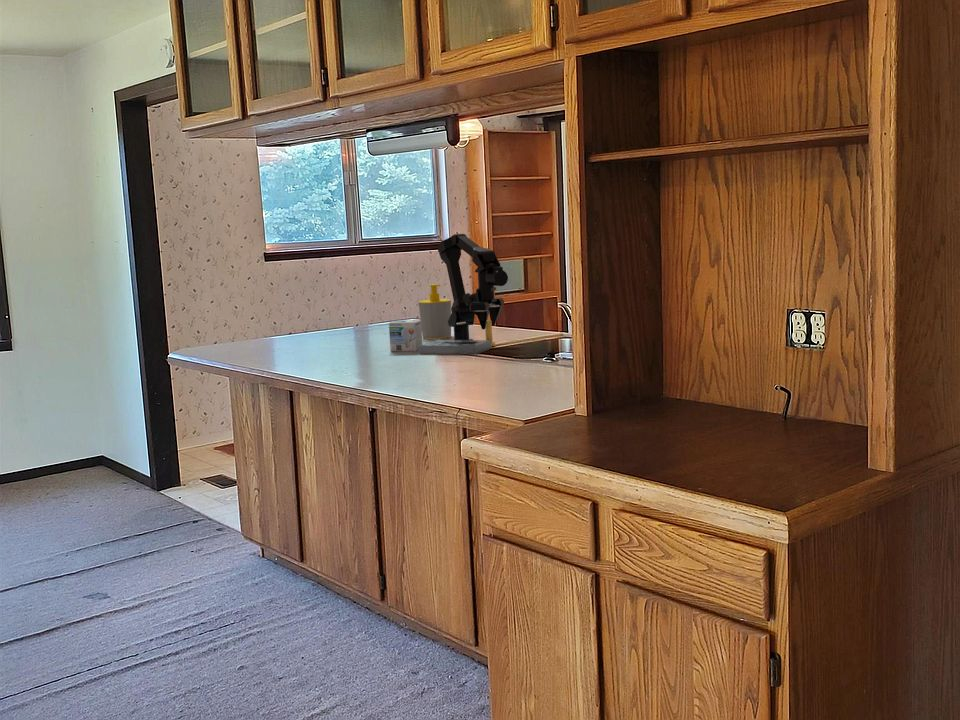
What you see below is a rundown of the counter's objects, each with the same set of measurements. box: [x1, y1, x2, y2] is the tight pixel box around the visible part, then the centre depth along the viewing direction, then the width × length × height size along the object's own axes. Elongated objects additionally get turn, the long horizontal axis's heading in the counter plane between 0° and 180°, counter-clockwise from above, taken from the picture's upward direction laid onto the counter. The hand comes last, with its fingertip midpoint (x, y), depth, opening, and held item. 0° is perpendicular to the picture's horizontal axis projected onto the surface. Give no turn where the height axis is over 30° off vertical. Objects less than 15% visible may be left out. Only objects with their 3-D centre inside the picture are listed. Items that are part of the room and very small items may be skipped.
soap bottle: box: [418, 283, 452, 340], centre depth 381 cm, size 13×13×21 cm
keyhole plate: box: [419, 339, 493, 355], centre depth 340 cm, size 14×22×3 cm, turn 67°
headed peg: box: [484, 320, 496, 347], centre depth 347 cm, size 4×4×9 cm
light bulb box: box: [388, 319, 424, 352], centre depth 349 cm, size 11×7×11 cm, turn 73°
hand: (488, 327), depth 347 cm, fingers open, 9 cm apart
